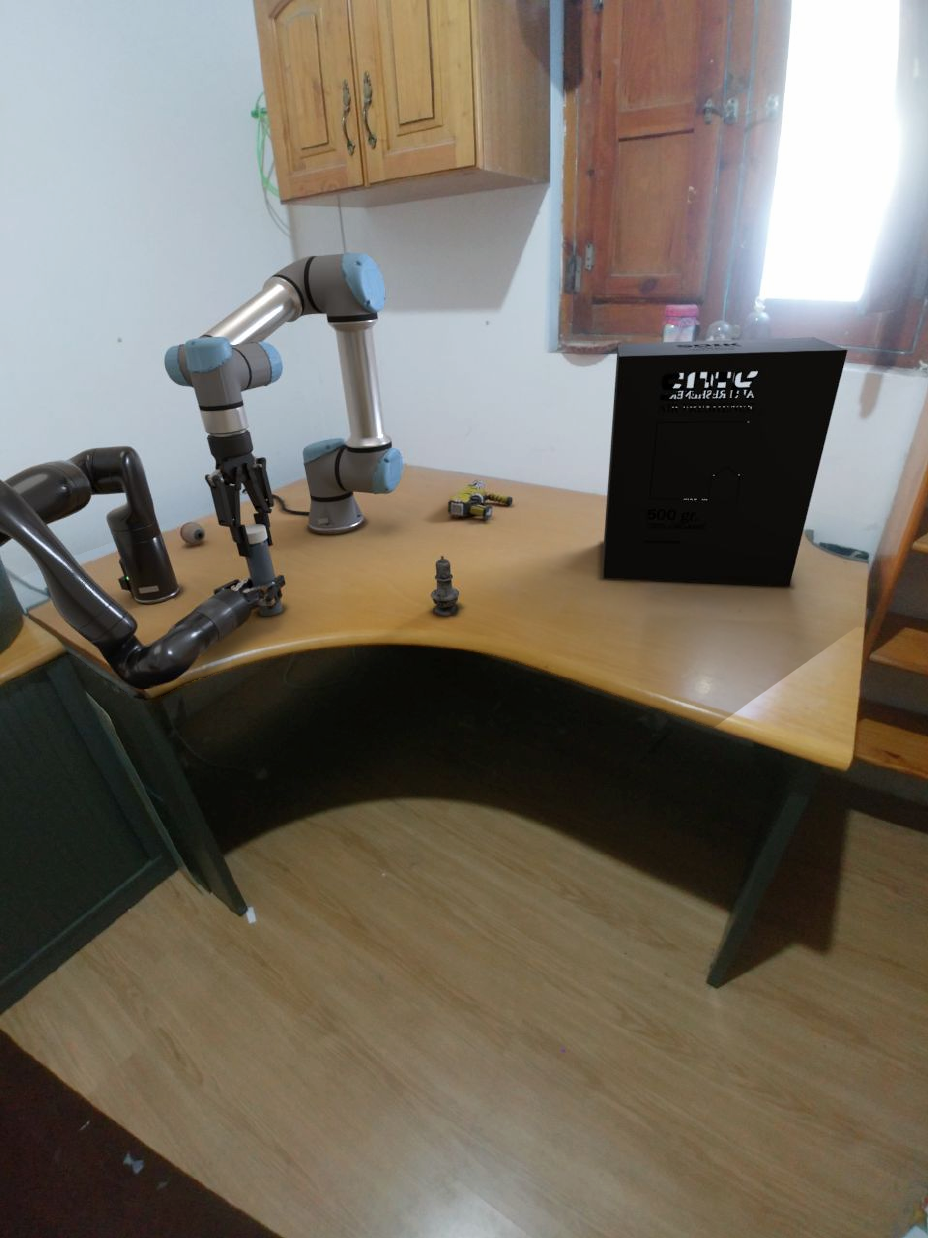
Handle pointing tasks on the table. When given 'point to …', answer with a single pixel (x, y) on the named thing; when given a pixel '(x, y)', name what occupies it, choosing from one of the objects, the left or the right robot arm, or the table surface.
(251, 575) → the bottle
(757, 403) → the cardboard box
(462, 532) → the table surface
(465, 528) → the table surface
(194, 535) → the eyeball
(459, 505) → the toy gun
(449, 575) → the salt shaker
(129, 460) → the left robot arm
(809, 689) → the table surface
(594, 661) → the table surface
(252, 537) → the white cylinder
